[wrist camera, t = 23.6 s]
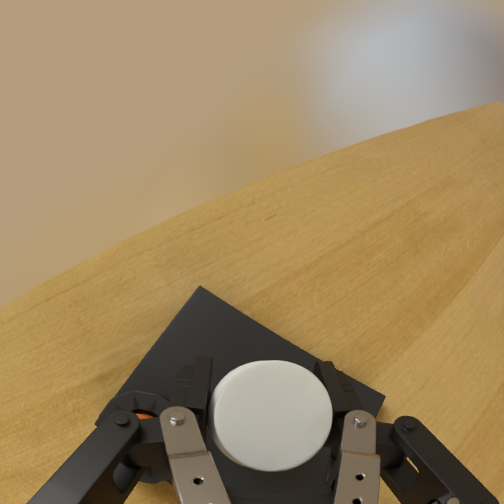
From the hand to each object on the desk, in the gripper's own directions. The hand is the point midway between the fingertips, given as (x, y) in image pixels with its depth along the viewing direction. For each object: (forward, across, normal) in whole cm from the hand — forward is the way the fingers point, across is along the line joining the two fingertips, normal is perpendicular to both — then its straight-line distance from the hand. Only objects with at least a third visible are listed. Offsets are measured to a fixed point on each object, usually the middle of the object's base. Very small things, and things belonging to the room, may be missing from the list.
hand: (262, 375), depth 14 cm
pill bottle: (+2, 0, +4) cm, 5 cm away
